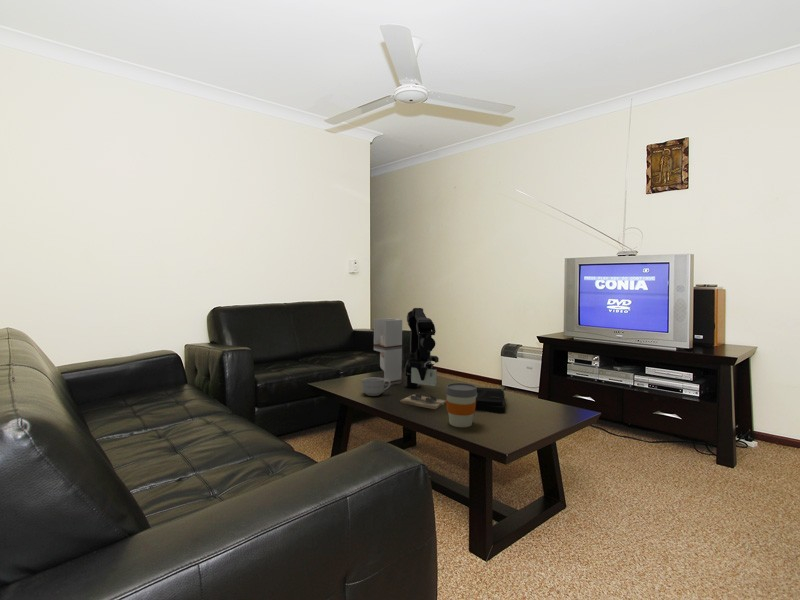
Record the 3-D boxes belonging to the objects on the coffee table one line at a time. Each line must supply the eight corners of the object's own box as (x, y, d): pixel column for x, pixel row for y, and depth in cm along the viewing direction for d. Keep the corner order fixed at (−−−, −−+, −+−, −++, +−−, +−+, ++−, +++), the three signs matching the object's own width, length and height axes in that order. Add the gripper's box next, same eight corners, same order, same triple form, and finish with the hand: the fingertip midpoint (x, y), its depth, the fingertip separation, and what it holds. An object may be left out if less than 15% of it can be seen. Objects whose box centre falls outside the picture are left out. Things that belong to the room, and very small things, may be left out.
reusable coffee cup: (477, 420, 180) (478, 384, 179) (474, 430, 168) (475, 391, 167) (447, 417, 184) (448, 381, 183) (442, 426, 171) (443, 389, 171)
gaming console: (505, 415, 189) (505, 399, 189) (459, 411, 193) (459, 395, 193) (504, 398, 215) (504, 384, 214) (464, 395, 219) (464, 381, 219)
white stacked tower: (389, 379, 249) (390, 318, 247) (401, 382, 241) (402, 319, 239) (373, 382, 242) (373, 319, 240) (385, 386, 234) (385, 320, 232)
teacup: (359, 396, 213) (359, 380, 212) (366, 391, 223) (366, 375, 223) (386, 398, 209) (387, 382, 209) (392, 393, 220) (392, 377, 220)
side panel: (413, 396, 214) (413, 390, 213) (446, 402, 204) (446, 396, 204) (400, 402, 203) (400, 395, 203) (435, 409, 194) (435, 402, 194)
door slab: (413, 381, 208) (413, 366, 207) (436, 385, 201) (436, 370, 201) (410, 382, 205) (410, 367, 205) (433, 386, 199) (433, 371, 198)
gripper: (418, 342, 215) (418, 373, 215) (399, 347, 199) (398, 381, 199) (439, 344, 209) (438, 376, 210) (420, 350, 193) (420, 385, 194)
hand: (423, 379), depth 203 cm, fingers closed on door slab, 2 cm apart
